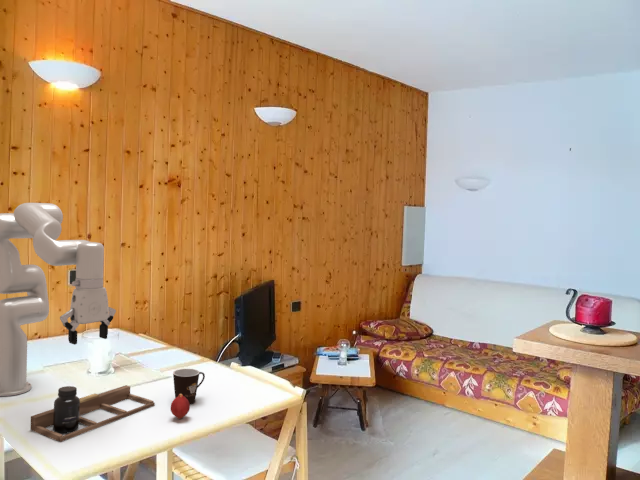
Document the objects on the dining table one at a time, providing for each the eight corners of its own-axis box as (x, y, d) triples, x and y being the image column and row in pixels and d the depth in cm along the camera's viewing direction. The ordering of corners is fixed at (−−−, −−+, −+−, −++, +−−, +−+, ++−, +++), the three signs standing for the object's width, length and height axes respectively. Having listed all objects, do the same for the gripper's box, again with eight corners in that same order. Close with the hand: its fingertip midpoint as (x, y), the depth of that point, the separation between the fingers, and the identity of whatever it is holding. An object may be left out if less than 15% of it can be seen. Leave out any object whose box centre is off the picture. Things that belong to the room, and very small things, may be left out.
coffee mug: (175, 407, 178) (176, 377, 178) (169, 398, 186) (170, 369, 185) (210, 403, 184) (211, 374, 183) (203, 394, 191) (204, 366, 191)
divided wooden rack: (30, 429, 156) (30, 414, 156) (125, 396, 186) (126, 383, 185) (60, 442, 149) (61, 425, 149) (154, 405, 179) (155, 391, 179)
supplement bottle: (68, 435, 153) (70, 394, 153) (47, 432, 155) (48, 391, 154) (84, 426, 160) (85, 386, 159) (63, 423, 162) (64, 383, 161)
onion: (172, 414, 172) (173, 390, 172) (190, 415, 173) (191, 390, 172) (168, 422, 166) (169, 396, 166) (187, 422, 167) (188, 397, 166)
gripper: (68, 288, 153) (67, 348, 154) (122, 282, 167) (121, 338, 168) (54, 284, 157) (53, 343, 158) (108, 280, 171) (107, 334, 172)
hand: (88, 340), depth 163 cm, fingers open, 9 cm apart
